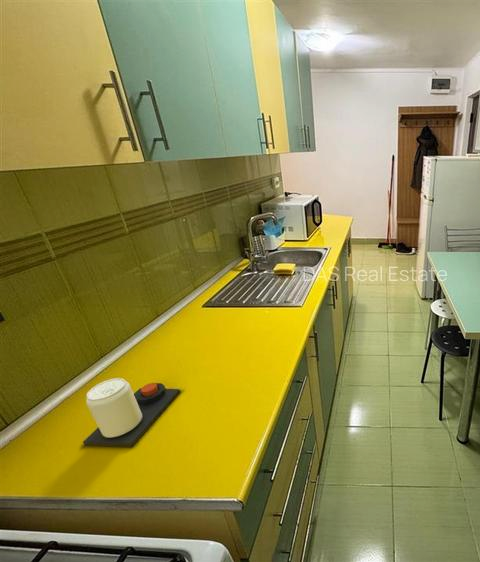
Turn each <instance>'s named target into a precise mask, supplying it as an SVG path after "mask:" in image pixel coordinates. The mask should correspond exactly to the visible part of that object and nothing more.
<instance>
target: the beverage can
mask: <svg viewBox="0 0 480 562" xmlns="http://www.w3.org/2000/svg"><path fill="white" fill-rule="evenodd" d="M85 403H86V405H87V407H88V409H89V411H90V414H91V415H92V418H93V419H94V422H95V423H96V425H97V428H98V427H99V429H100V431H101V433H102V435H103V436H105V437H109V438H111V437H117V436H120V435H123V434H125V433H127V432H129V431H130V430H132V429H133V428H135V427H136V426H137V425H138V424H139V422H140V421H141V419H142V413H141V411H140V408H139V406H138V403H137V401H136V399H135V396H134V392H133V389H132V386H131V384H130V383H129V382H128V381H126V379H124V378H121V377H115V378H114V377H113V378H110V379H107V380H104V381H102V382H99V383H97V384H96V385H95V386H93V387H91V389H90V390H88V391H87V393H86V400H85Z"/></svg>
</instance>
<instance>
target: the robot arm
mask: <svg viewBox="0 0 480 562" xmlns="http://www.w3.org/2000/svg"><path fill="white" fill-rule="evenodd" d="M5 321H6V320H5V317H4V316H3V314H2V312H1V311H0V324H1V323H3V322H5Z"/></svg>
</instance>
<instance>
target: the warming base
mask: <svg viewBox="0 0 480 562" xmlns="http://www.w3.org/2000/svg"><path fill="white" fill-rule="evenodd" d="M155 383H156V384H157V387H158V391H157V392H156V393H155V394H153V395H151V396H147V397H144V396H143V394H142V392H141V389H142V387H140V388H138V389H137V390H136V391H135V392H133V394H134V396H135V399H136V401H137V403H138V406H139V408H140V411H141V413H142V419H141V421H140V422H139V424H138V425H137V426H136V427H135V428H133V429H132V430H130V431H129V432H127V433H125V434H123V435H120V436H117V437H111V438H109V437H105V436H103V435H102V433H101V431H100V429H99V427H98V426H97V428H96V429H95V430H93V431H92V432H91V434H90V435H88V436H87V437H86V438H85V439H84V440H83V441H82V443H83V445H84V446H89V447H90V446H91V447H92V446H95V447H124V448H127V447H128V448H133V447H134V446H135V445H136V444H137V442H138V441H139V440H140V439H141V438H142V437H143V436H144V435H145V433H146V432H147V431H148V430H149V429H150V427H151V426H152V425H154V423H155V422H156V421H157V420H158V418H160V416H162V414H163V413H164V412H165V410H166V409H168V407H169V406H170V405H171V404H172V402H174V401H175V399H176V398H177V397H178V395H180V394H181V389H180V388H166V386H165V385H164V384H163V383H162V382H155Z"/></svg>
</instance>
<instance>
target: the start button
mask: <svg viewBox="0 0 480 562" xmlns="http://www.w3.org/2000/svg"><path fill="white" fill-rule="evenodd" d="M156 383H157V382H149V383H147V384H145V385H143V386H142V387H141V388H142V389H141V392H142V394H143V396H144V397H147V396H151V395H153V394H155V393H156V392H157V391H158V387H157V384H156Z"/></svg>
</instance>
